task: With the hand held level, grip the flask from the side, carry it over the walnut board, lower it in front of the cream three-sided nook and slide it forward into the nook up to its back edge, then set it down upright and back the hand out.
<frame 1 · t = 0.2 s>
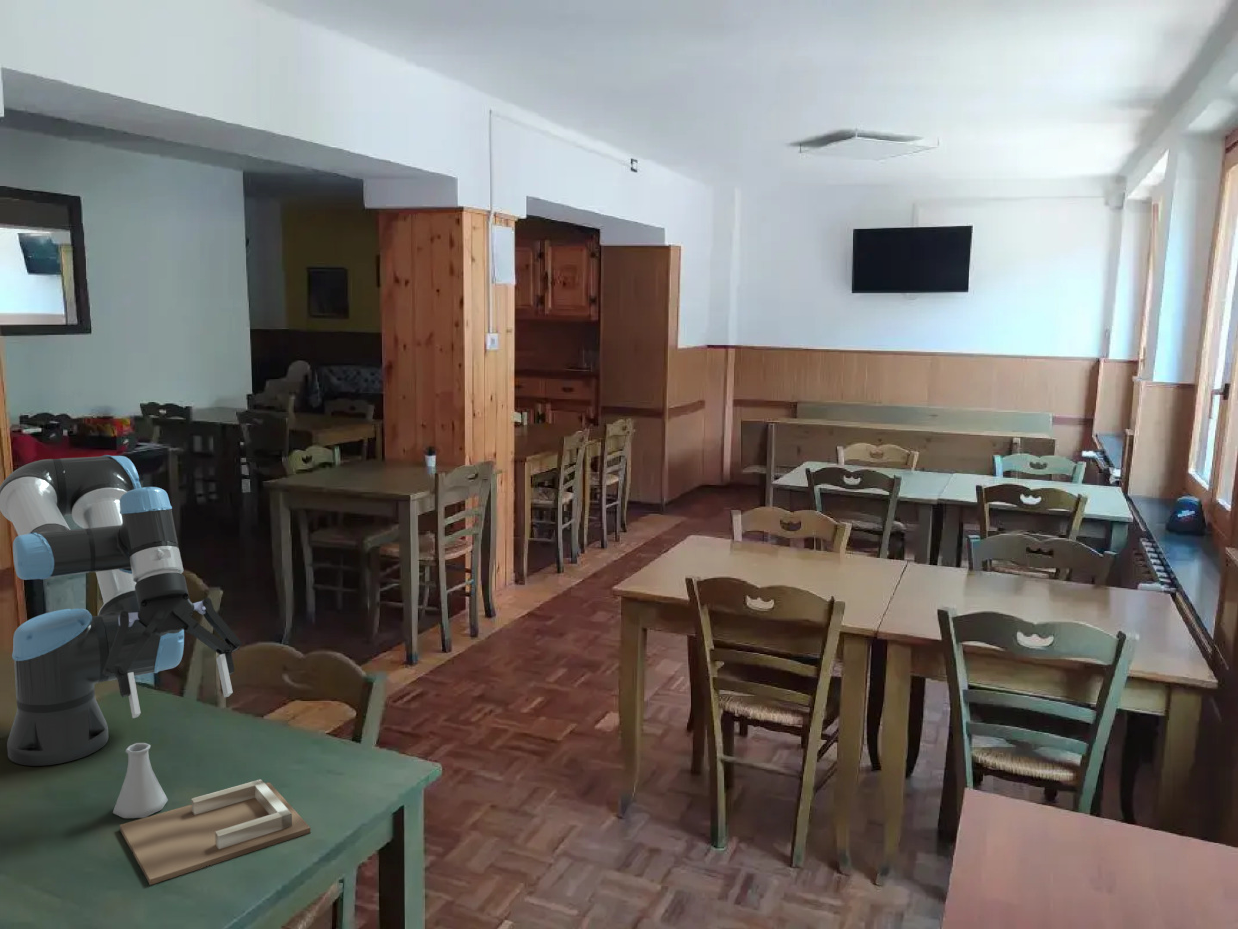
hand: (183, 705, 149), 14 cm above the table, tool tilted 35°, fingers open, 13 cm apart
nook board: (215, 831, 140), on the table
flask: (140, 809, 146), on the table
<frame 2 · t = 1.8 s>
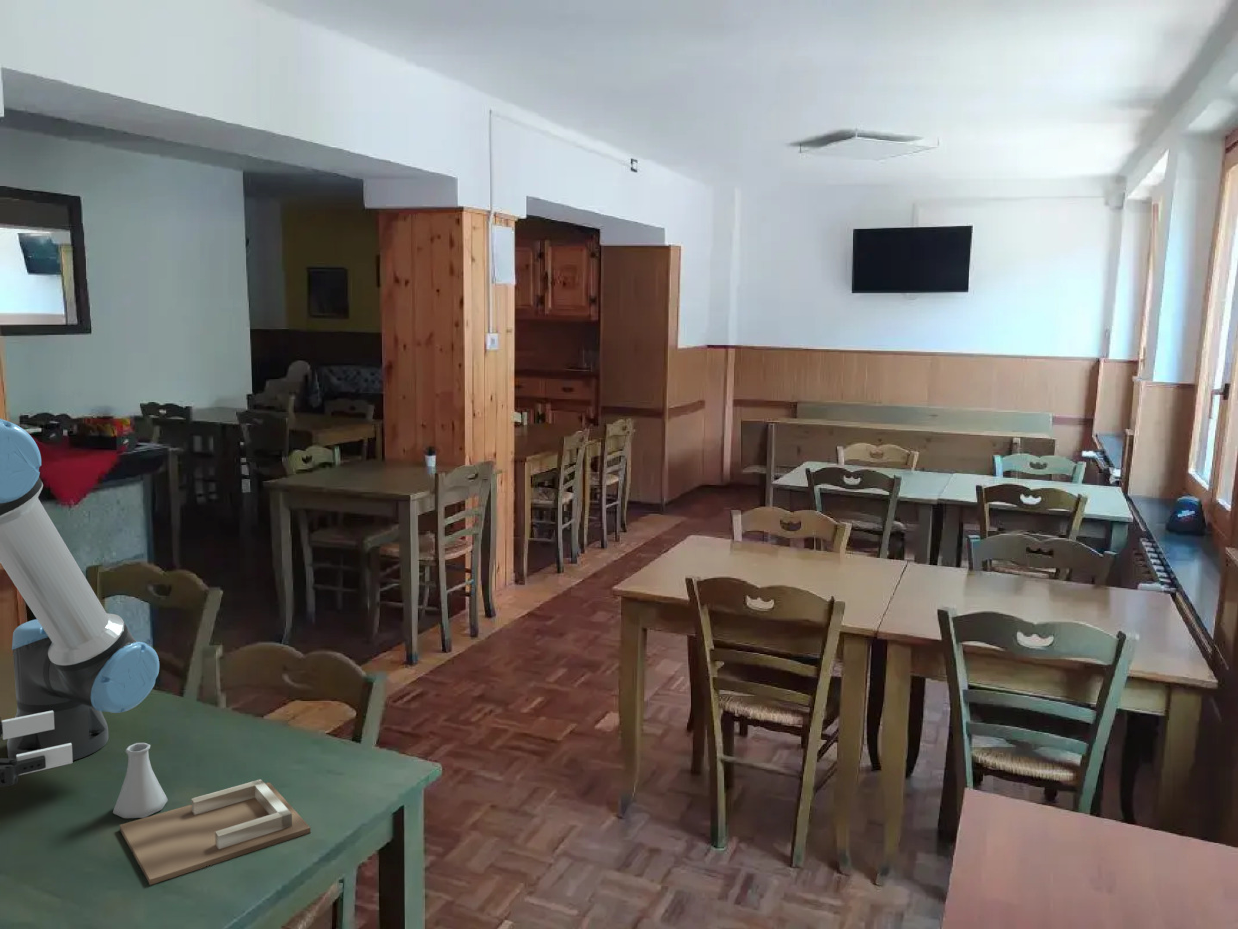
hand: (62, 735, 137), 14 cm above the table, tool horizontal, fingers open, 13 cm apart
nothing on the table moved.
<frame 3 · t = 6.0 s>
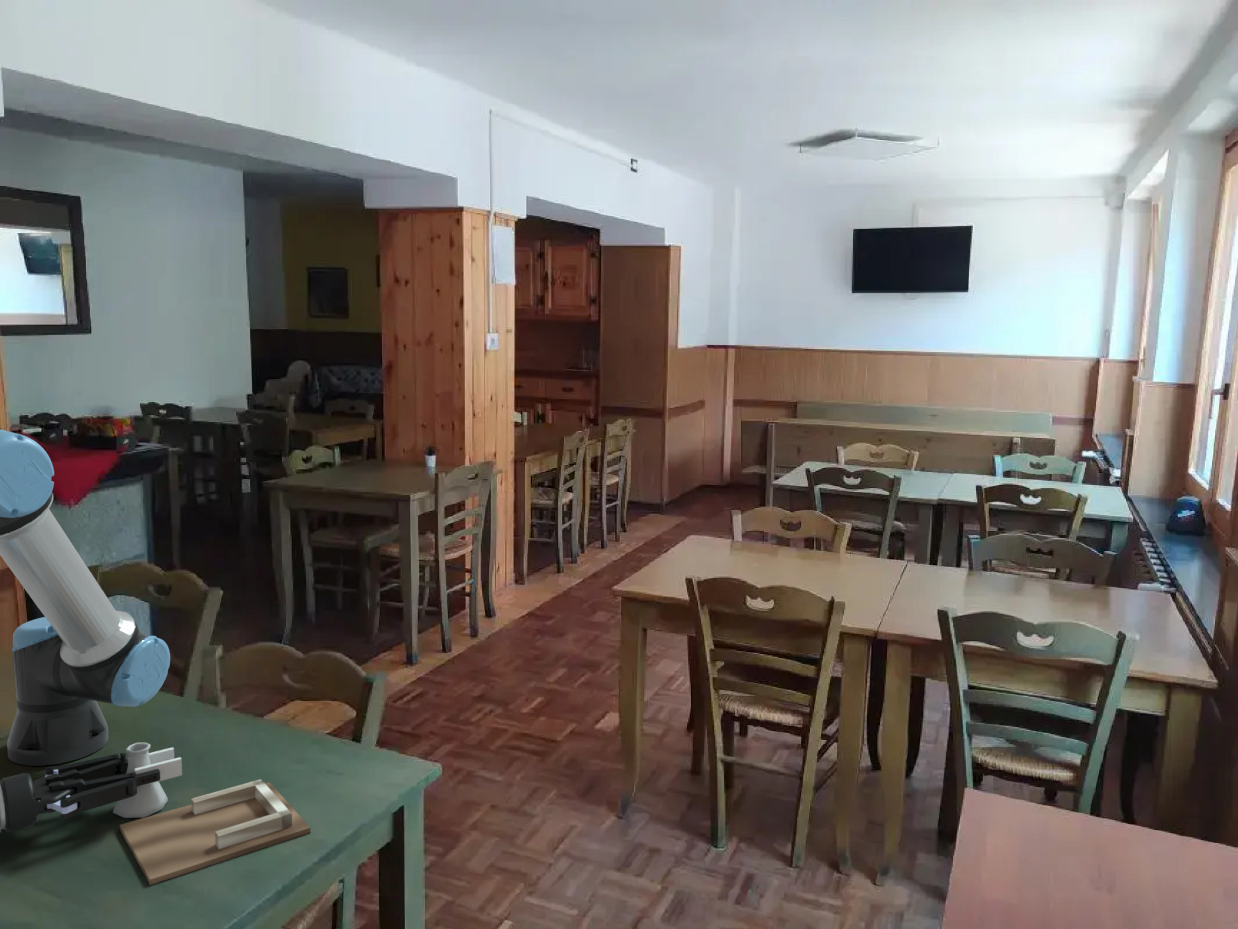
hand: (177, 761, 148), 6 cm above the table, tool horizontal, fingers closed on flask, 3 cm apart
flask: (141, 809, 146), on the table, touching gripper
when the fingers open (8 cm above the table, at t = 12.4 s): flask drops 1 cm, resting on nook board.
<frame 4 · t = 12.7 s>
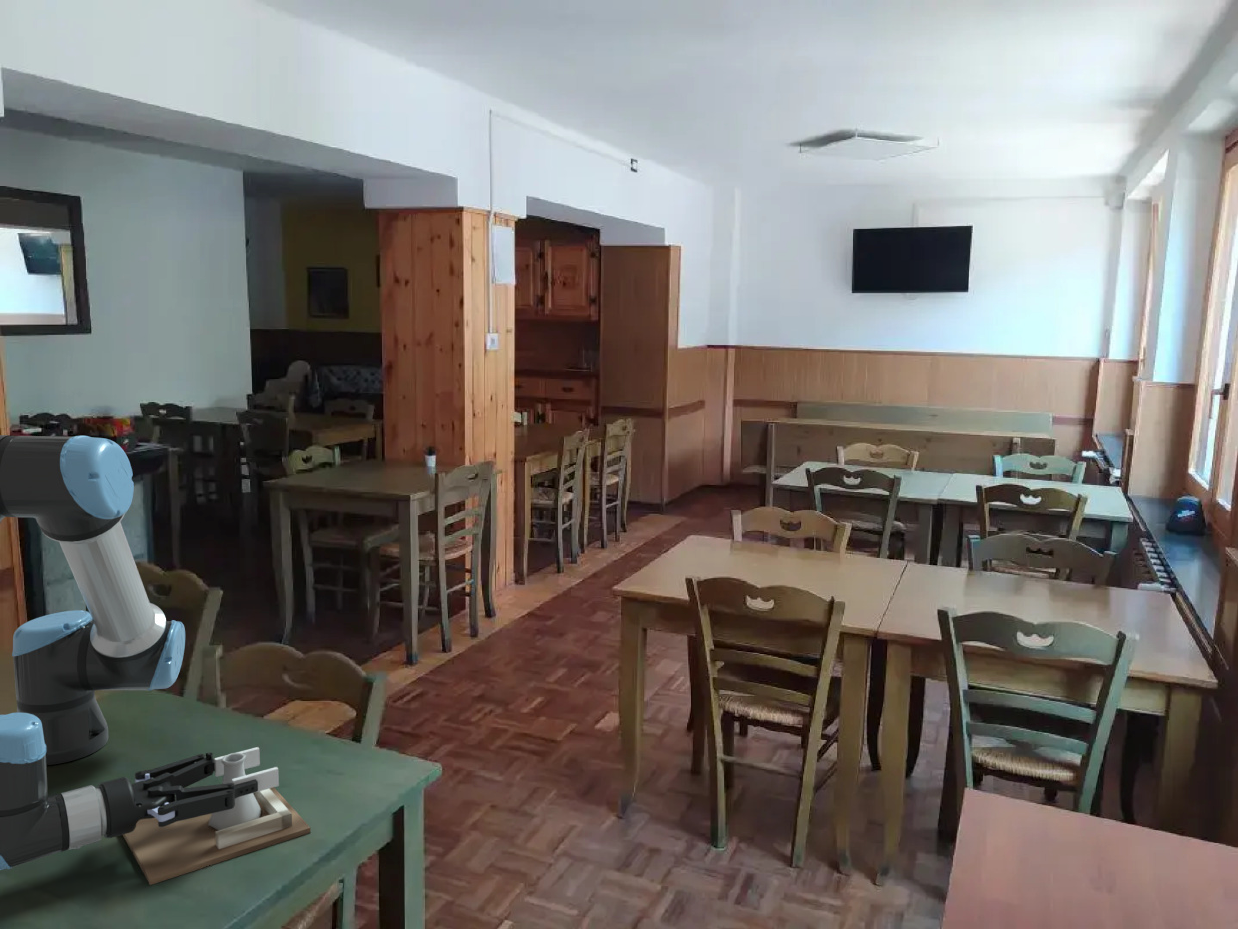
hand: (267, 766, 144), 8 cm above the table, tool horizontal, fingers open, 7 cm apart
flask: (235, 821, 142), point 1 cm above the table, touching nook board
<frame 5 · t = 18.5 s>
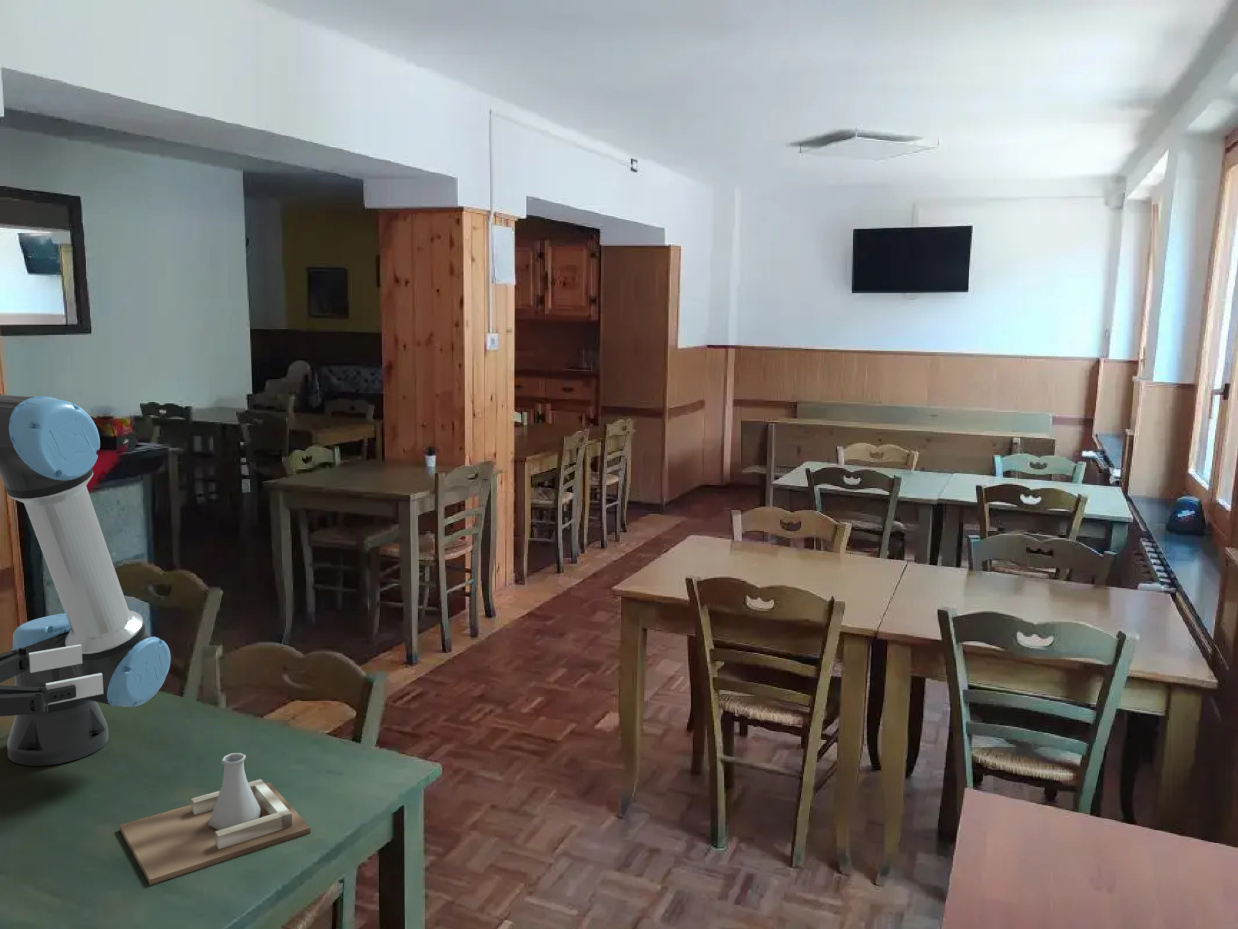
hand: (91, 668, 133), 26 cm above the table, tool horizontal, fingers open, 13 cm apart
nothing on the table moved.
at the end: flask 0.1 cm from the target spot on the nook board, point 0.6 cm above the nook board's base; flask tilted 0°; the gripper is holding nothing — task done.
